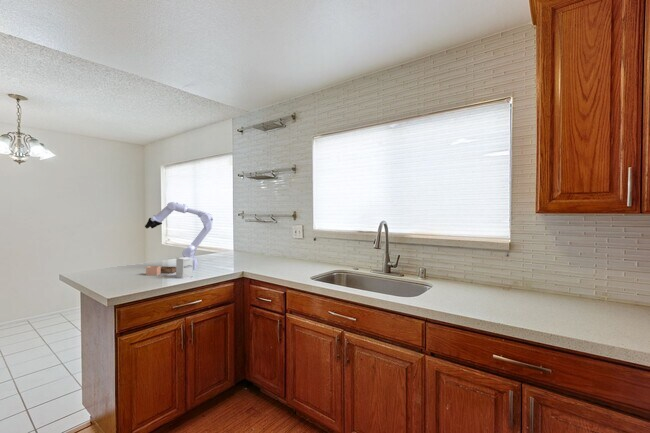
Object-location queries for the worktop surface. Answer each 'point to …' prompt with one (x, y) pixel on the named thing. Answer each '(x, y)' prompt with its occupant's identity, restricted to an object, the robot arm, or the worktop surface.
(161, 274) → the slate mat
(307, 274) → the worktop surface
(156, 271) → the terracotta crate
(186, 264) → the supplement box
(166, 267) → the walnut crate
